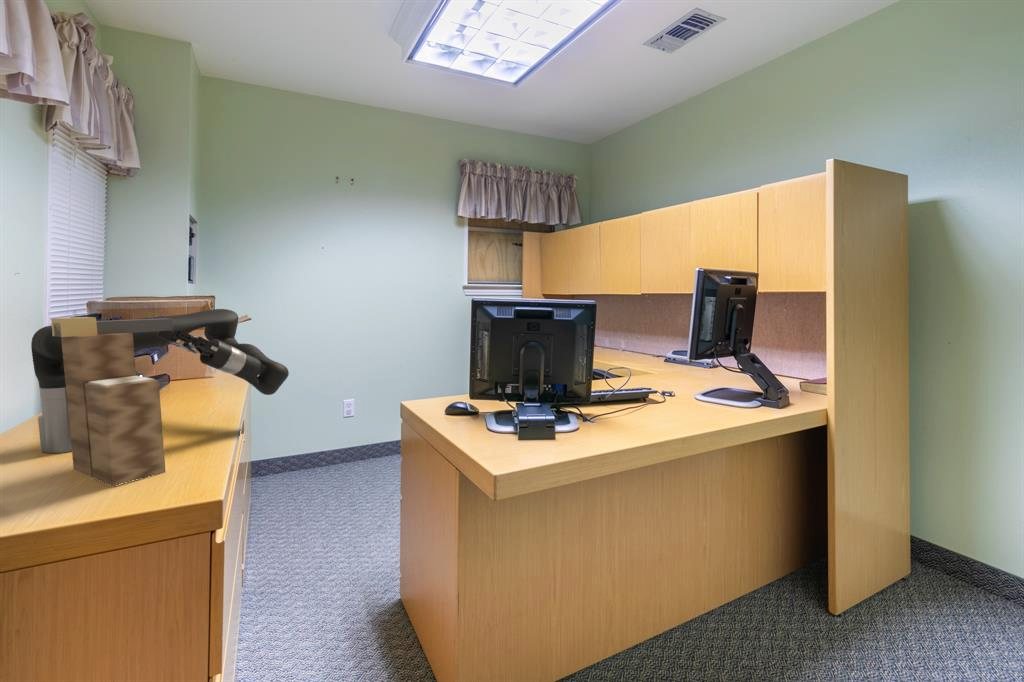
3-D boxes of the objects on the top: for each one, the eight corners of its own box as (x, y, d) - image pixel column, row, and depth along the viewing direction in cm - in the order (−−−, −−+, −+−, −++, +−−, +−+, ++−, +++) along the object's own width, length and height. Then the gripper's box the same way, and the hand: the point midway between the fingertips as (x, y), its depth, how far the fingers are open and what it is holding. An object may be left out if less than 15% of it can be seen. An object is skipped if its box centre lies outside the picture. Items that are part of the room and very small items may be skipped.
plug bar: (63, 337, 104) (61, 318, 104) (52, 335, 107) (51, 318, 107) (175, 330, 123) (174, 314, 123) (163, 329, 126) (162, 314, 126)
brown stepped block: (113, 487, 102) (100, 338, 99) (73, 469, 113) (60, 335, 110) (165, 472, 111) (155, 335, 108) (124, 457, 122) (113, 332, 119)
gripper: (216, 344, 142) (160, 319, 129) (244, 346, 135) (188, 320, 122) (204, 367, 139) (146, 344, 127) (231, 371, 132) (173, 346, 119)
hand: (166, 332), depth 124 cm, fingers open, 8 cm apart
